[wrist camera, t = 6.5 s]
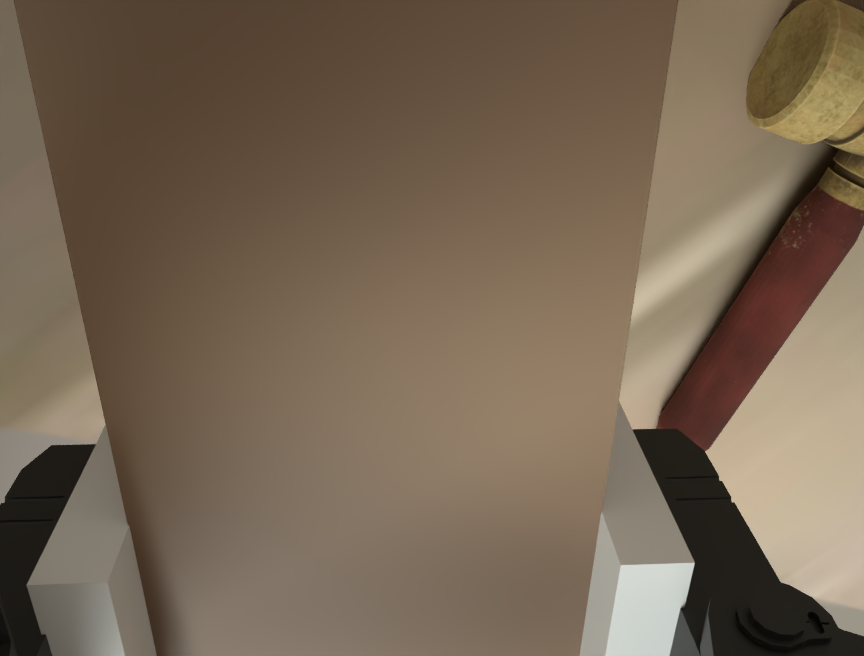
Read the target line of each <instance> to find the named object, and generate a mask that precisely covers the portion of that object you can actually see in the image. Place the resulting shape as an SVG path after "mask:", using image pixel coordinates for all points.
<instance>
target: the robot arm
mask: <svg viewBox="0 0 864 656" xmlns="http://www.w3.org/2000/svg"><path fill="white" fill-rule="evenodd" d="M0 656H157V654H156V649H155V645H154V640H153V635H152V631H151V626H150V621H149V616H148V612H147V607H146V602H145V597H144V593H143V588H142V583H141V578H140V574H139V569H138V564H137V560H136V555H135V550H134V545H133V541H132V536H131V531H130V526H129V525H128V524H127V520H126V515H125V510H124V506H123V501H122V497H121V492H120V487H119V483H118V478H117V474H116V469H115V464H114V460H113V455H112V451H111V446H110V441H109V437H108V432H107V428H106V425H105V427H104V429H103V431H102V433H101V435H100V438H99V440H98V442H97V444H89V445H51V446H50V447H49V448H48V449H47V450H45V451H44V452H43V453H42V454H41V455H39V456H38V457H37V458H35V459H34V460H33V461H32V462H30V463H29V464H28V465H27V466H26V467H24V468H23V469H22V470H21V472H20V473H19V475H18V476H17V478H16V480H15V482H14V483H13V485H12V486H11V488H10V490H9V491H8V493H7V495H6V496H5V503H1V505H0ZM580 656H864V636H861V635H857V634H854V633H851V632H847V631H844V630H842V629H839V628H838V627H837V625H836V623H835V621H834V620H833V617H832V616H831V615H830V614H829V613H828V612H827V611H826V610H825V609H824V608H823V607H822V606H821V605H820V604H819V603H818V602H816V601H815V600H814V599H813V598H812V597H810V596H808V595H806V594H805V593H803V592H801V591H799V590H797V589H796V588H794V587H792V586H790V585H787V584H784V583H781V582H780V581H779V579H778V577H777V575H776V574H775V572H774V570H773V568H772V567H771V565H770V563H769V562H768V560H767V558H766V556H765V555H764V553H763V551H762V549H761V548H760V546H759V544H758V543H757V541H756V539H755V537H754V536H753V534H752V532H751V531H750V529H749V527H748V525H747V524H746V522H745V520H744V518H743V517H742V515H741V513H740V512H739V510H738V508H737V506H736V505H735V503H732V502H731V496H730V494H729V493H728V491H727V489H726V487H725V486H724V484H723V482H722V481H719V475H718V474H717V472H716V470H715V468H714V467H713V465H712V463H711V462H710V460H709V458H708V456H707V455H706V453H705V451H704V450H703V449H702V448H701V447H699V446H698V445H697V444H696V443H694V442H693V441H692V440H691V439H689V438H688V437H687V436H686V435H684V434H683V433H682V432H681V431H679V430H678V429H635V430H632V428H631V426H630V424H629V422H628V420H627V417H626V415H625V413H624V411H623V409H622V407H621V405H620V403H619V402H618V409H617V416H616V423H615V429H614V436H613V443H612V450H611V456H610V463H609V470H608V477H607V483H606V490H605V497H604V504H603V511H601V517H600V524H599V531H598V537H597V544H596V550H595V557H594V563H593V570H592V577H591V583H590V590H589V596H588V603H587V610H586V616H585V623H584V629H583V636H582V643H581V649H580Z"/></svg>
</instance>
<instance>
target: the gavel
mask: <svg viewBox="0 0 864 656" xmlns="http://www.w3.org/2000/svg"><path fill="white" fill-rule="evenodd" d="M746 107H747V114H748V117H749V119H750V121H751V122H752V123H753V124H754V125H755V126H757V127H759V128H762V129H764V130H767V131H769V132H772V133H775V134H777V135H780V136H782V137H785V138H787V139H790V140H793V141H795V142H798V143H800V144H812V143H817V142H819V141H821V140H823V141H824V142H825V143H827V144H829V145H831V146H834V147H836V148H839V150H838V152H837V154H836V155H835V157H834V158H833V160H834V161H835V162H836V164H835V165H834V166H829V167H828V169H827V170H826V172H825V173H824V175H823V176H822V178H821V179H820V181H819V182H818V184H817V185H816V186H815V187H814V188H813V189H812V190H811V192H810V193H809V194H808V195H807V196H806V197H805V198H804V199H803V200H802V201H801V202H800V204H799V205H798V206H797V207H796V208H795V209H794V210H793V212H792V213H791V215H790V217H789V218H788V220H787V221H786V223H785V224H784V226H783V227H782V229H781V230H780V232H779V233H778V235H777V237H776V238H775V240H774V241H773V243H772V244H771V246H770V247H769V249H768V250H767V252H766V253H765V255H764V256H763V258H762V260H761V261H760V263H759V264H758V266H757V267H756V269H755V270H754V272H753V273H752V275H751V276H750V278H749V280H748V281H747V283H746V284H745V286H744V287H743V289H742V290H741V292H740V293H739V295H738V296H737V298H736V299H735V301H734V303H733V304H732V306H731V307H730V309H729V310H728V312H727V313H726V315H725V316H724V318H723V319H722V321H721V323H720V324H719V326H718V327H717V329H716V330H715V332H714V333H713V335H712V336H711V338H710V339H709V341H708V342H707V344H706V346H705V347H704V349H703V350H702V352H701V353H700V355H699V356H698V358H697V359H696V361H695V362H694V364H693V366H692V367H691V369H690V370H689V372H688V373H687V375H686V376H685V378H684V379H683V381H682V382H681V384H680V385H679V387H678V389H677V390H676V392H675V393H674V395H673V396H672V398H671V399H670V401H669V402H668V404H667V405H666V407H665V409H664V410H663V412H662V413H661V415H660V417H659V421H658V426H657V429H678V430H679V431H681V432H682V433H683V434H684V435H686V436H687V437H688V438H689V439H691V440H692V441H693V442H694V443H696V444H697V445H698V446H699V447H701V448H702V449H703V450H704V451H706V450H708V449H709V448H710V447H711V445H712V444H713V442H714V441H715V440H716V438H717V437H718V435H719V434H720V433H721V431H722V430H723V428H724V427H725V425H726V424H727V423H728V421H729V420H730V418H731V417H732V416H733V414H734V413H735V411H736V410H737V409H738V407H739V406H740V404H741V403H742V401H743V400H744V399H745V397H746V396H747V394H748V393H749V392H750V390H751V389H752V387H753V386H754V385H755V383H756V382H757V380H758V379H759V378H760V376H761V375H762V373H763V372H764V370H765V369H766V368H767V366H768V365H769V363H770V362H771V361H772V359H773V358H774V356H775V355H776V354H777V352H778V351H779V349H780V348H781V347H782V345H783V344H784V342H785V341H786V339H787V338H788V337H789V335H790V334H791V332H792V331H793V330H794V328H795V327H796V325H797V324H798V323H799V321H800V320H801V318H802V317H803V316H804V314H805V313H806V311H807V310H808V308H809V307H810V306H811V304H812V303H813V301H814V300H815V299H816V297H817V296H818V294H819V293H820V292H821V290H822V289H823V287H824V286H825V284H826V283H827V282H828V280H829V279H830V277H831V276H832V275H833V273H834V272H835V270H836V269H837V268H838V266H839V265H840V263H841V262H842V261H843V259H844V258H845V256H846V255H847V253H848V252H849V251H850V249H851V248H852V246H853V245H854V244H855V242H856V240H857V238H858V236H859V234H860V232H861V230H862V228H863V226H864V12H863V11H861V10H858V9H856V8H854V7H852V6H849V5H847V4H845V3H842V2H840V1H838V0H806V1H804V2H803V3H801V4H800V5H798V6H797V7H796V8H794V9H793V10H792V11H791V12H790V13H789V14H787V15H786V16H785V17H784V18H783V19H782V20H781V21H780V23H779V24H778V25H777V26H776V27H775V29H774V30H773V32H772V34H771V36H770V38H769V40H768V41H767V43H766V45H765V47H764V49H763V51H762V53H761V55H760V56H759V58H758V60H757V62H756V64H755V66H754V68H753V70H752V72H751V74H750V77H749V81H748V86H747V95H746Z"/></svg>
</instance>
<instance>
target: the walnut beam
mask: <svg viewBox="0 0 864 656" xmlns="http://www.w3.org/2000/svg"><path fill="white" fill-rule="evenodd" d="M14 4H15V9H16V13H17V18H18V23H19V27H20V32H21V36H22V41H23V46H24V50H25V55H26V59H27V64H28V69H29V73H30V78H31V82H32V87H33V92H34V96H35V101H36V105H37V110H38V115H39V119H40V124H41V128H42V133H43V138H44V142H45V147H46V151H47V156H48V161H49V165H50V170H51V174H52V179H53V184H54V188H55V193H56V197H57V202H58V207H59V211H60V216H61V220H62V225H63V230H64V234H65V239H66V243H67V248H68V253H69V257H70V262H71V267H72V271H73V276H74V280H75V285H76V290H77V294H78V299H79V303H80V308H81V313H82V317H83V322H84V326H85V331H86V336H87V340H88V345H89V349H90V354H91V359H92V363H93V368H94V372H95V377H96V382H97V386H98V391H99V395H100V400H101V405H102V409H103V414H104V418H105V423H106V428H107V432H108V437H109V441H110V446H111V451H112V455H113V460H114V464H115V469H116V474H117V478H118V483H119V487H120V492H121V497H122V501H123V506H124V510H125V515H126V520H127V524H128V525H129V526H130V531H131V536H132V541H133V545H134V550H135V555H136V560H137V564H138V569H139V574H140V578H141V583H142V588H143V593H144V597H145V602H146V607H147V612H148V616H149V621H150V626H151V631H152V635H153V640H154V645H155V649H156V654H157V656H580V649H581V643H582V636H583V629H584V623H585V616H586V610H587V603H588V596H589V590H590V583H591V577H592V570H593V563H594V557H595V550H596V544H597V537H598V531H599V524H600V517H601V511H603V504H604V497H605V490H606V483H607V477H608V470H609V463H610V456H611V450H612V443H613V436H614V429H615V423H616V416H617V409H618V402H619V396H620V389H621V382H622V375H623V369H624V362H625V355H626V348H627V342H628V335H629V328H630V321H631V315H632V308H633V301H634V294H635V288H636V281H637V274H638V267H639V261H640V254H641V247H642V240H643V234H644V227H645V220H646V213H647V207H648V200H649V193H650V186H651V180H652V173H653V166H654V159H655V153H656V146H657V139H658V132H659V126H660V119H661V112H662V105H663V99H664V92H665V85H666V78H667V72H668V65H669V58H670V51H671V45H672V38H673V31H674V24H675V18H676V11H677V4H678V0H14Z"/></svg>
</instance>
